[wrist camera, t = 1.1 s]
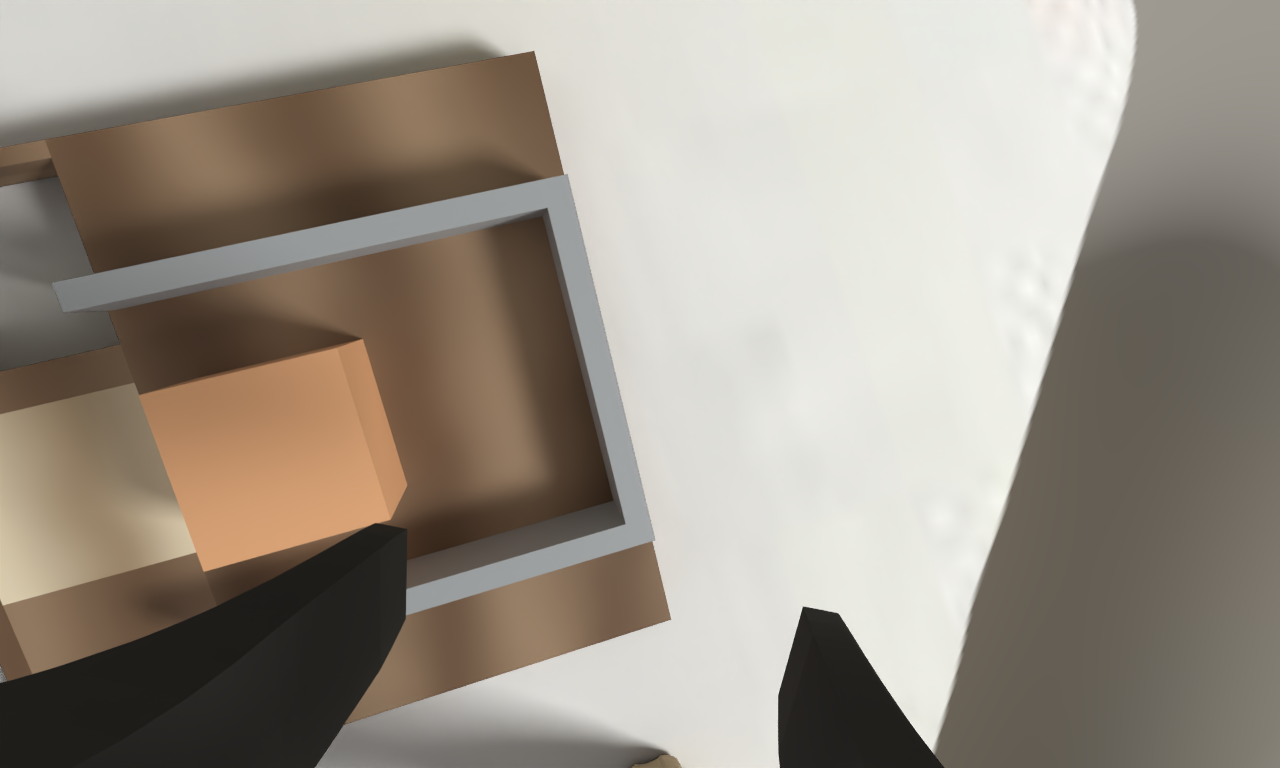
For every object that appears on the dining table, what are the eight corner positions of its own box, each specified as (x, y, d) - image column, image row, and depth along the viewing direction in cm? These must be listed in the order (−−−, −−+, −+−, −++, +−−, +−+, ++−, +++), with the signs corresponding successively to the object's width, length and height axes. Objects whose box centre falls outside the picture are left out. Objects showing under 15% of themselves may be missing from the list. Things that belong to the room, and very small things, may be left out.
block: (249, 528, 22) (203, 571, 19) (197, 378, 21) (138, 395, 18) (407, 485, 23) (390, 519, 19) (363, 338, 22) (337, 347, 19)
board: (101, 771, 24) (65, 814, 22) (-142, 195, 21) (-210, 185, 19) (659, 595, 27) (671, 619, 25) (531, 70, 24) (534, 51, 22)
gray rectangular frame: (234, 635, 22) (201, 676, 20) (105, 283, 20) (51, 282, 18) (640, 515, 25) (655, 540, 22) (560, 186, 22) (567, 174, 20)
